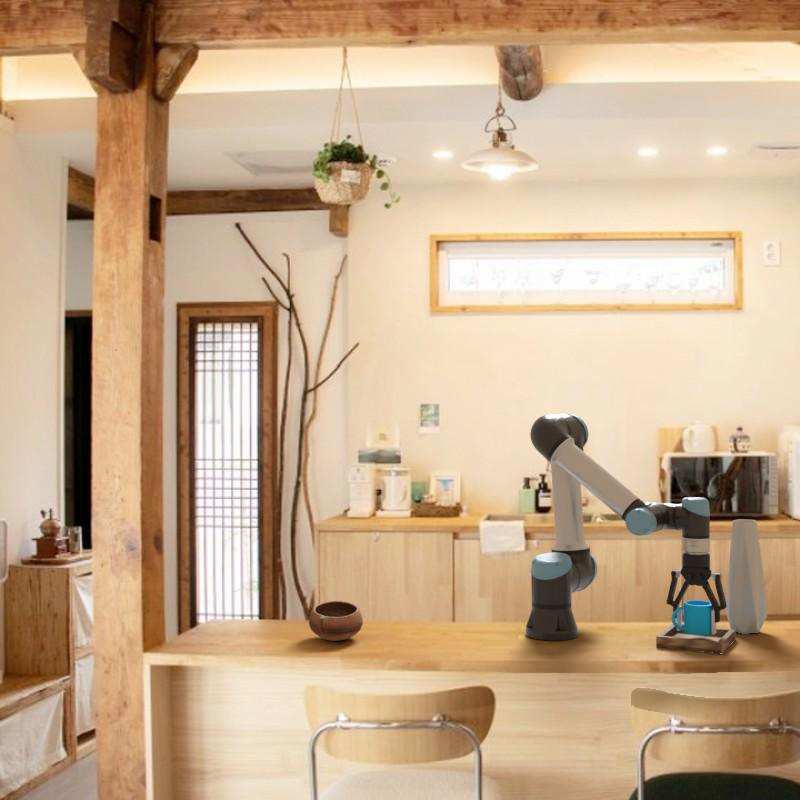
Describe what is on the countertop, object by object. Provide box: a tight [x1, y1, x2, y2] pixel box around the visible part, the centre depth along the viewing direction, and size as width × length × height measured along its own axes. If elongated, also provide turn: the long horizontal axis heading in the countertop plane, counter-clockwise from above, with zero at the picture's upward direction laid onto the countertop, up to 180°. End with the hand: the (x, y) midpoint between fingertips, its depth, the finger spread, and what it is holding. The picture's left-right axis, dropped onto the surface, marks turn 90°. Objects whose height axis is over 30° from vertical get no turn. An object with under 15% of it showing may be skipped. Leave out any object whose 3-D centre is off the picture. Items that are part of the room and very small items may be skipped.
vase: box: [724, 518, 769, 635], centre depth 314 cm, size 12×12×33 cm
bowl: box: [308, 600, 364, 642], centre depth 309 cm, size 16×16×10 cm
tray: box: [655, 623, 737, 654], centre depth 301 cm, size 18×18×3 cm
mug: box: [671, 599, 714, 635], centre depth 301 cm, size 12×8×8 cm
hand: (696, 631), depth 300 cm, fingers closed on mug, 9 cm apart
